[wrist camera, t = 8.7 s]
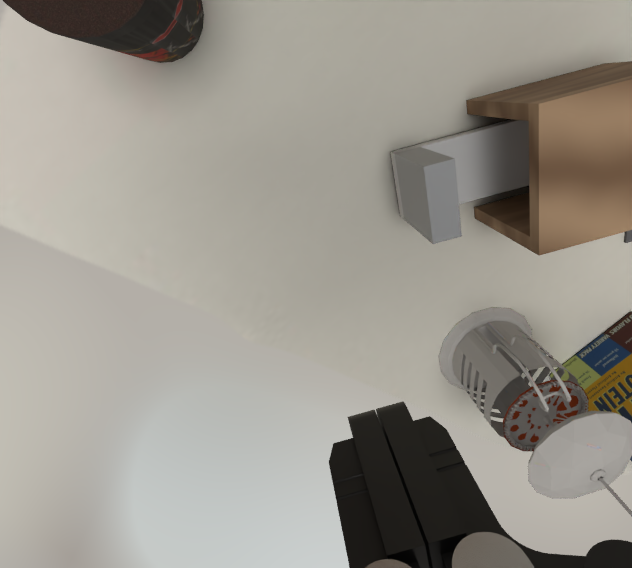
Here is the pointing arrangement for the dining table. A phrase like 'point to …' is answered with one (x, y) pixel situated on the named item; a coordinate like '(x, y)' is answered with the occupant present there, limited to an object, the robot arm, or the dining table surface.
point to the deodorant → (121, 24)
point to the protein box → (606, 370)
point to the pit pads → (628, 236)
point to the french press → (536, 405)
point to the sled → (458, 175)
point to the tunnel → (568, 158)
